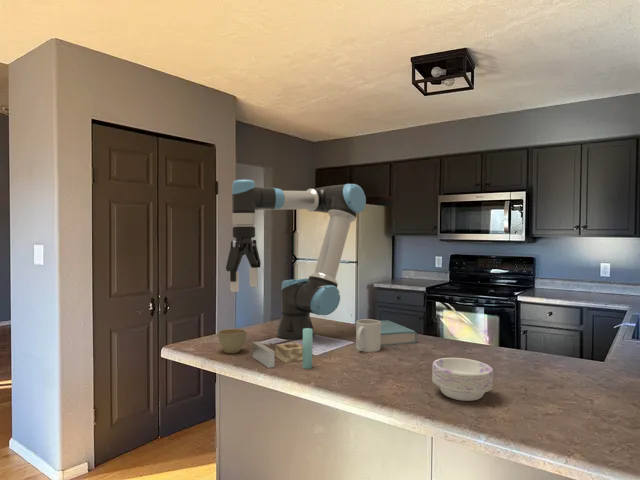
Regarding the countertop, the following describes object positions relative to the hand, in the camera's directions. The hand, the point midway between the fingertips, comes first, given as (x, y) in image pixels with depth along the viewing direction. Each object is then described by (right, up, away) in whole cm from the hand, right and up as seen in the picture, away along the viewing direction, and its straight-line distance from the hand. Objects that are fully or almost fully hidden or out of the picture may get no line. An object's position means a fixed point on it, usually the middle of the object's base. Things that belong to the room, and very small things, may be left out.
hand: (244, 288), depth 154 cm
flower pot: (-6, -23, +7) cm, 25 cm away
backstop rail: (+7, -23, -6) cm, 25 cm away
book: (+52, -24, +30) cm, 64 cm away
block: (+16, -23, -1) cm, 28 cm away
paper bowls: (+63, -24, -35) cm, 76 cm away
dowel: (+22, -23, -12) cm, 34 cm away
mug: (+42, -23, +11) cm, 49 cm away
